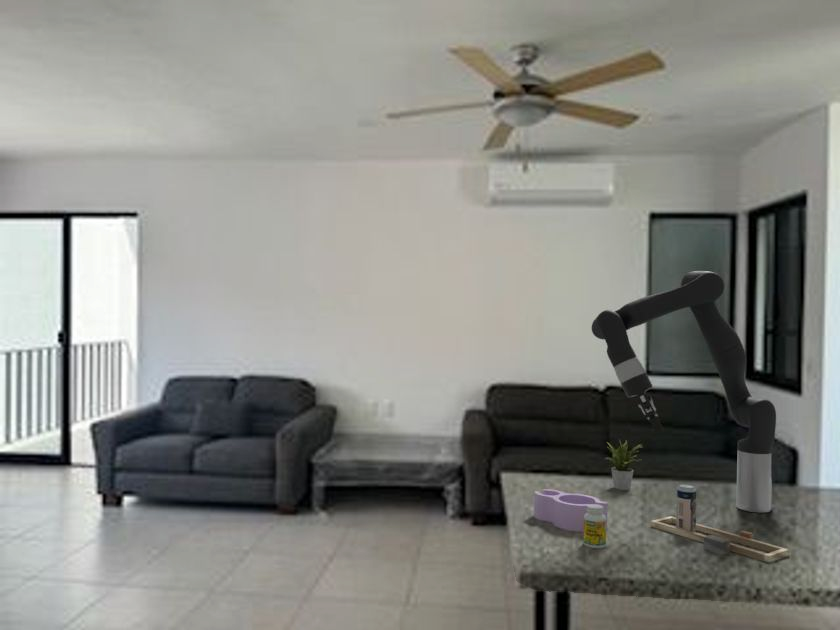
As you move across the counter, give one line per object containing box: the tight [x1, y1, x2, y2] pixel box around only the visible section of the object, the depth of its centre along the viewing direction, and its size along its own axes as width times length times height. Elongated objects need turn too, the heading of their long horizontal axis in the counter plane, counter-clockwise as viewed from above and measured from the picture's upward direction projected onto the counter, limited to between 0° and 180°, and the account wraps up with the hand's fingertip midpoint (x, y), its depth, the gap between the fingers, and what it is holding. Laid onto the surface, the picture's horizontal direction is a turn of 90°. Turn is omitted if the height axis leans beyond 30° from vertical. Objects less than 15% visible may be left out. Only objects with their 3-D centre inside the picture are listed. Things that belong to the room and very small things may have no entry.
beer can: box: [675, 483, 697, 533], centre depth 182 cm, size 5×5×12 cm
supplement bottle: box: [583, 504, 607, 549], centre depth 169 cm, size 5×5×10 cm
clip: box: [533, 488, 609, 533], centre depth 188 cm, size 20×12×7 cm, turn 43°
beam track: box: [650, 515, 790, 563], centre depth 174 cm, size 15×32×3 cm, turn 35°
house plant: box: [604, 439, 642, 491], centre depth 228 cm, size 14×14×16 cm
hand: (659, 431), depth 188 cm, fingers open, 8 cm apart
